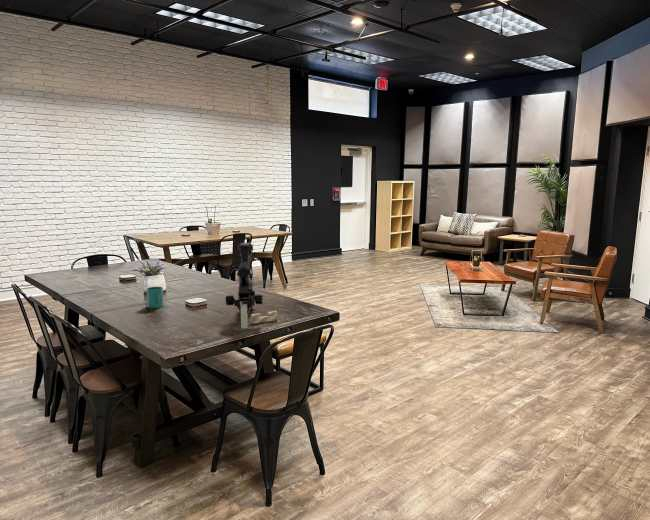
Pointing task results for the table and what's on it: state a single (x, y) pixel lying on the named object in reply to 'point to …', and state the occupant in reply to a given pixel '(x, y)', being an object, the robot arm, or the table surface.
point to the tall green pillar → (244, 316)
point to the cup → (155, 297)
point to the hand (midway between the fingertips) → (244, 314)
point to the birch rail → (258, 319)
